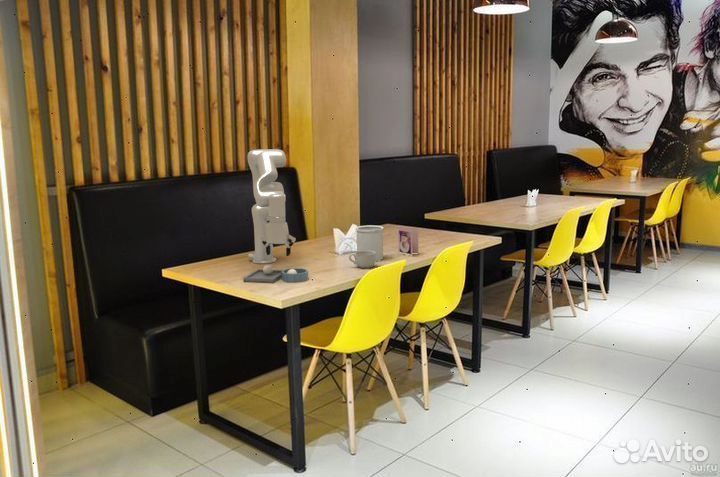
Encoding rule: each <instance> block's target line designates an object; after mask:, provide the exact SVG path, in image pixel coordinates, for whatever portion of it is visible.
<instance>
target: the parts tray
mask: <svg viewBox="0 0 720 477" xmlns="http://www.w3.org/2000/svg"><path fill="white" fill-rule="evenodd" d="M283 270H284V269H283ZM283 270H281V269H273V272H272V273H271V274H269V275H266V274H265V273H264V272H263V269H261V268H260V269H256V270H254V271H252V272H250V273H249V274H247V275H245V276H244V277H243V280H242V281H243V283H255V284H256V283H257V284H258V283H260V284H261V283H262V284H274V283H276V282H278V281H279V280H280V279H282V271H283Z"/></svg>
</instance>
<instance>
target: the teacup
mask: <svg viewBox="0 0 720 477" xmlns="http://www.w3.org/2000/svg"><path fill="white" fill-rule="evenodd" d="M352 256H354V260H353V259H352ZM348 259H349V261H350V262H352V263H353V264H354V265H356V266H357V267H358V268H361V269H371V268H372V267H373V266H375V264H376V261H375V260H376V252H375V251H371V250H359V251H357V250H356V251H355V252H354V253H351V252H350V254H349V255H348Z"/></svg>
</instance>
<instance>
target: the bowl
mask: <svg viewBox="0 0 720 477" xmlns="http://www.w3.org/2000/svg"><path fill="white" fill-rule="evenodd" d="M290 269H294V270H296V272H297V274H288V273H287V272H288V271H289V270H290ZM281 280H282V281H283V282H285V283H302V282H307V281H308V280H309V270H308V269H306V268H300V267H297V268H293V267H291V268H286V269H283V271H282V278H281Z"/></svg>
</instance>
